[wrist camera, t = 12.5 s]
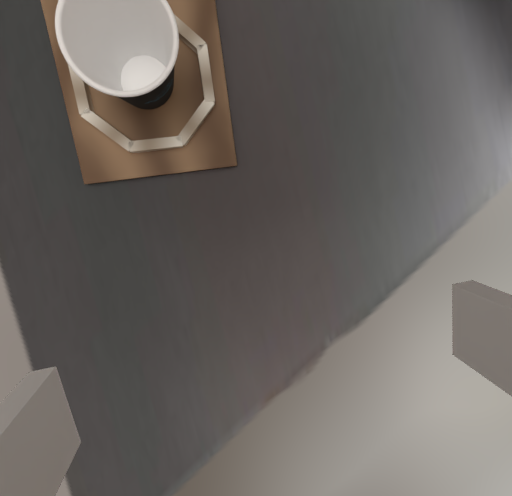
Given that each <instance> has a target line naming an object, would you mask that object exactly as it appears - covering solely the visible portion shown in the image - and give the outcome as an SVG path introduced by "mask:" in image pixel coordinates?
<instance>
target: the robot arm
mask: <svg viewBox="0 0 512 496" xmlns="http://www.w3.org/2000/svg"><path fill="white" fill-rule="evenodd" d="M452 290H453V291H452V295H453V296H452V304H453V306H452V308H453V310H452V311H453V312H452V314H453V355H454V356H455V357H457V358H458V359H460V360H461V361H463V362H464V363H465V364H467V365H468V366H470V367H471V368H472V369H474V370H475V371H477V372H478V373H479V374H481V375H482V376H484V377H485V378H487V379H488V380H489V381H491V382H492V383H494V384H495V385H496V386H498V387H499V388H501V389H502V390H503V391H505V392H506V393H508V394H509V395H511V396H512V295H510V294H507V293H505V292H502V291H499V290H497V289H494V288H491V287H489V286H486V285H483V284H481V283H478V282H475V281H473V280H471V281H466V282H461V283H456V284H453V285H452ZM80 443H81V441H80V438H79V435H78V432H77V429H76V426H75V423H74V420H73V417H72V414H71V411H70V408H69V405H68V402H67V398H66V395H65V392H64V389H63V386H62V383H61V380H60V377H59V374H58V371H57V368H56V367H51V368H46V369H41V370H37V371H32V372H29V373H28V374H27V375H26V376H25V377H24V378H23V379H22V380H21V381H20V382H19V384H17V386H16V387H15V388H14V389H13V390H12V391H11V392H10V393H9V394H8V395H7V396H6V397H5V399H4V400H3V401H2V402H1V403H0V496H55V495H56V493H57V491H58V489H59V487H60V485H61V482H62V480H63V478H64V476H65V474H66V472H67V470H68V468H69V466H70V464H71V462H72V460H73V457H74V455H75V453H76V451H77V449H78V447H79V445H80Z"/></svg>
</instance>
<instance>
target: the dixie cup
mask: <svg viewBox="0 0 512 496" xmlns="http://www.w3.org/2000/svg"><path fill="white" fill-rule="evenodd" d="M55 31H56V37H57V41H58V44H59V47H60V50H61V52H62V54H63V56H64V58H65V60H66V61H67V63H68V65H69V66H70V67H71V69H72V70H73V71H74V72H75V73H76V75H77V76H78V77H79V78H81V79H82V80H83V81H84V82H85V83H86V84H88V85H89V86H91V87H92V88H94V89H96V90H98V91H100V92H102V93H105V94H108V95H112V96H116V97H118V98H120V99H122V100H124V101H126V102H128V103H129V104H131V105H133V106H135V107H137V108H140V109H147V110H149V109H155V108H158V107H160V106H162V105H163V104H165V103H166V102H167V101H168V99H169V98H170V96H171V94H172V91H173V87H174V65H175V62H176V59H177V55H178V50H179V33H178V27H177V23H176V19H175V16H174V14H173V11H172V9H171V7H170V5H169V4H168V2H167V0H58V4H57V7H56V12H55Z"/></svg>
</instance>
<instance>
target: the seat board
mask: <svg viewBox="0 0 512 496" xmlns="http://www.w3.org/2000/svg"><path fill="white" fill-rule="evenodd" d="M167 2H168V4H169V5H170V7H171V9H172V11H173V14H174V16H175V19H176V23H177V27H178V33H179V50H178V55H177V59H176V62H175V65H174V87H173V91H172V94H171V96H170V98H169V99H168V101H167V102H166V103H165V104H163V105H162V106H160V107H158V108H155V109H149V110H147V109H140V108H137V107H135V106H133V105H131V104H129V103H128V102H126V101H124V100H122V99H120V98H118V97H116V96H112V95H108V94H105V93H102V92H100V91H98V90H96V89H94V88H92V87H91V86H89V85H88V84H86V83H85V82H84V81H83V80H82V79H81V78H79V77H78V76H77V75H76V73H75V72H74V71H73V70H72V69H71V67H70V66H69V65H68V63H67V61H66V60H65V58H64V56H63V54H62V52H61V50H60V47H59V44H58V41H57V37H56V31H55V12H56V7H57V4H58V0H41V4H42V8H43V12H44V16H45V21H46V25H47V29H48V33H49V37H50V42H51V46H52V50H53V54H54V58H55V63H56V67H57V71H58V75H59V79H60V84H61V88H62V92H63V96H64V100H65V105H66V109H67V113H68V117H69V121H70V126H71V130H72V134H73V138H74V142H75V147H76V151H77V155H78V159H79V163H80V168H81V172H82V176H83V180H84V184H94V183H102V182H110V181H118V180H126V179H135V178H143V177H151V176H159V175H167V174H175V173H183V172H192V171H200V170H208V169H216V168H224V167H232V166H237V161H236V153H235V146H234V139H233V131H232V124H231V116H230V109H229V101H228V94H227V86H226V79H225V71H224V64H223V57H222V49H221V42H220V34H219V27H218V19H217V12H216V4H215V0H167Z"/></svg>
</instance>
